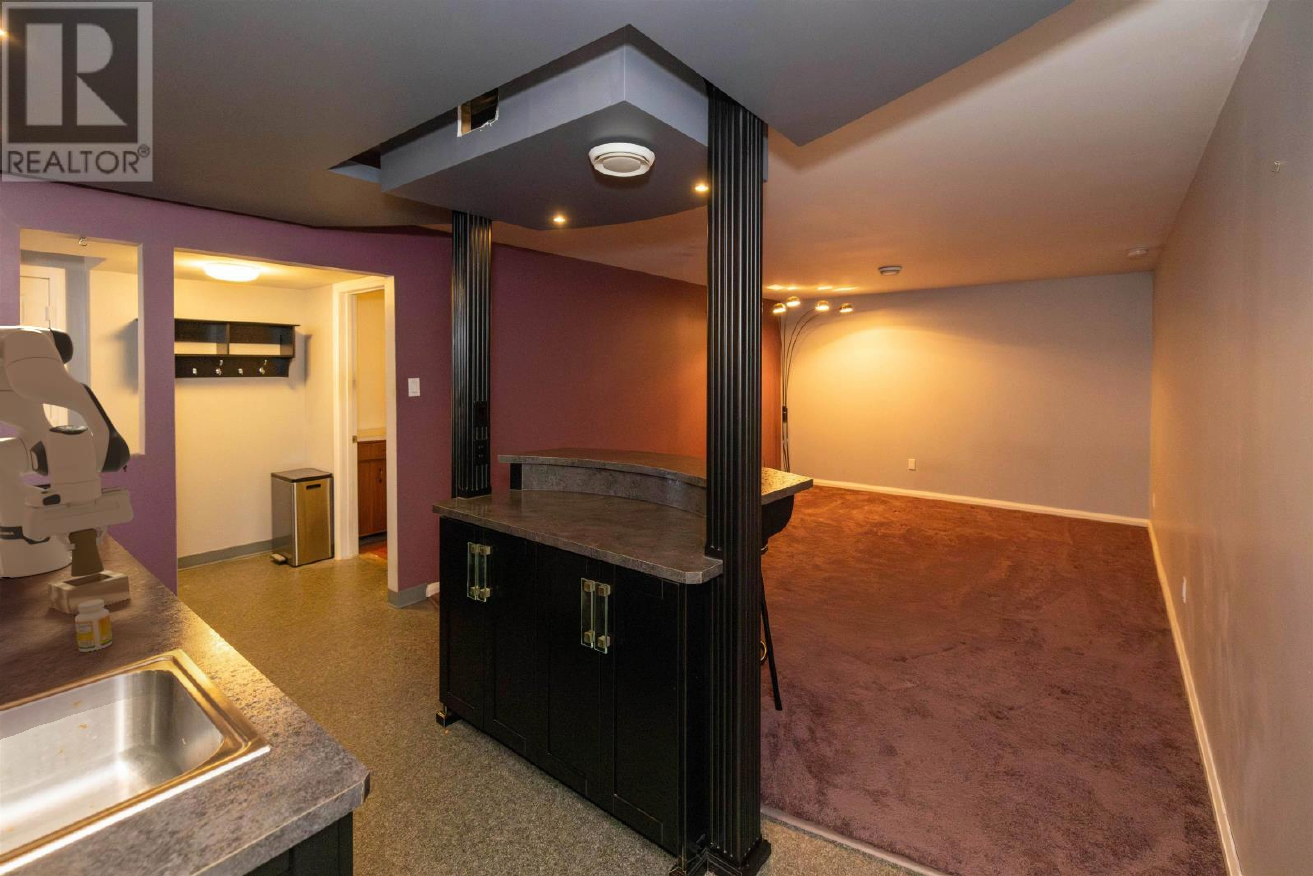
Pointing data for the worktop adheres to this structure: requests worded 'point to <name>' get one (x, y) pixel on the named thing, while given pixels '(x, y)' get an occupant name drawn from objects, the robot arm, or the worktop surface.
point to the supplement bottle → (93, 626)
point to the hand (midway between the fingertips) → (84, 547)
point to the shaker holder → (88, 590)
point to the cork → (85, 553)
